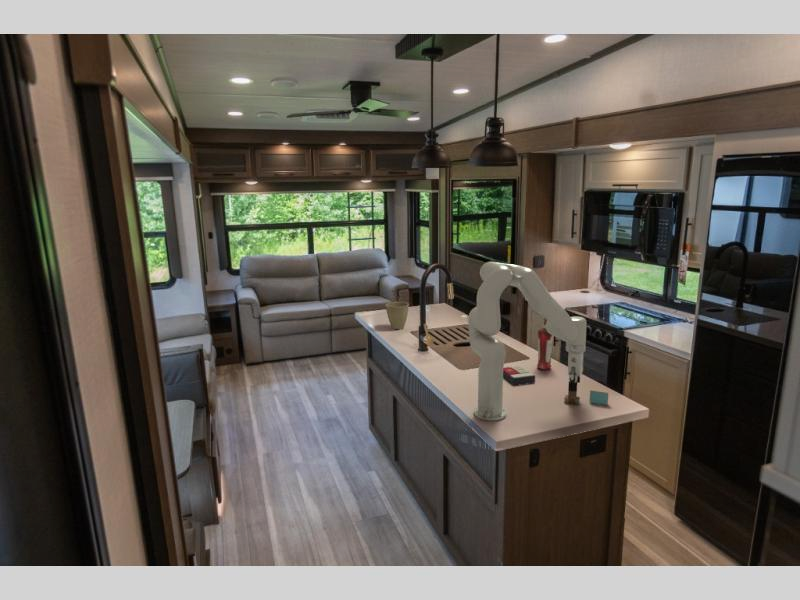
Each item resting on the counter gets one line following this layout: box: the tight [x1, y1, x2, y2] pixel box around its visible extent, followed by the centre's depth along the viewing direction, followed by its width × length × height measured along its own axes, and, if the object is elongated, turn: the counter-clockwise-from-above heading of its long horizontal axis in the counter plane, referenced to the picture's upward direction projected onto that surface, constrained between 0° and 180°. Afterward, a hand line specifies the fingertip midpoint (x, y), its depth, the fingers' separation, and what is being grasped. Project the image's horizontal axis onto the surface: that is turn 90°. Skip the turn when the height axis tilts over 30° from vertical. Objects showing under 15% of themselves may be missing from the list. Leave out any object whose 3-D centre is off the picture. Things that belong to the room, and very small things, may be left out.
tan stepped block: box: [564, 374, 581, 406], centre depth 208 cm, size 3×6×12 cm, turn 64°
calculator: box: [503, 365, 536, 386], centre depth 236 cm, size 11×4×15 cm
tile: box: [588, 388, 610, 406], centre depth 207 cm, size 2×7×6 cm, turn 64°
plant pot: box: [385, 301, 410, 330], centre depth 322 cm, size 15×15×16 cm
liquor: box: [536, 317, 554, 371], centre depth 245 cm, size 7×7×28 cm
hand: (574, 386), depth 207 cm, fingers open, 9 cm apart
